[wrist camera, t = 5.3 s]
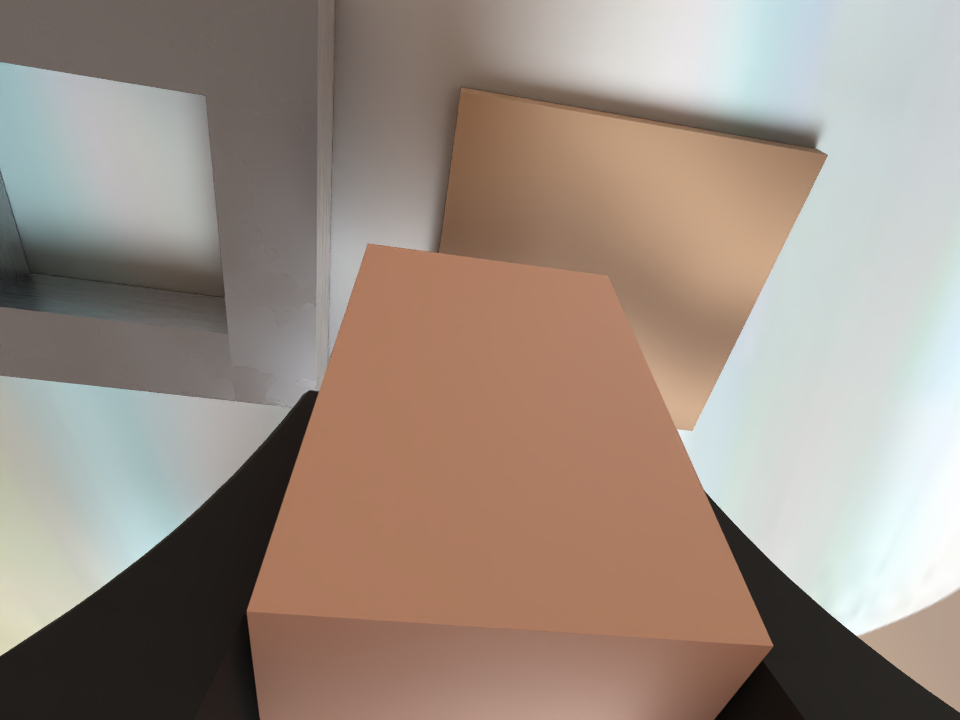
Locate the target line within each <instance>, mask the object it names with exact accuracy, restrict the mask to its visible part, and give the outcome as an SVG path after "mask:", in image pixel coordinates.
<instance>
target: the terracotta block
mask: <svg viewBox="0 0 960 720" xmlns="http://www.w3.org/2000/svg"><path fill="white" fill-rule="evenodd" d="M247 619H248V628H249V636H250V644H251V652H252V660H253V668H254V676H255V684H256V692H257V701H258V709H259V717H260V720H714V719H715V718H716V717H717V715H718V714H719V713H720V712H721V710H722V709H723V708H724V707H725V705H726V704H727V703H728V702H729V701H730V699H731V698H732V697H733V696H734V694H735V693H736V692H737V691H738V689H739V688H740V687H741V686H742V685H743V683H744V682H745V681H746V680H747V678H748V677H749V676H750V675H751V673H752V672H753V671H754V670H755V668H756V667H757V666H758V665H759V664H760V662H761V661H762V660H763V659H764V657H765V656H766V655H767V654H768V652H769V651H770V650H771V649H772V647H773V644H772V642H771V639H770V637H769V635H768V633H767V630H766V628H765V626H764V624H763V621H762V619H761V617H760V615H759V612H758V610H757V608H756V606H755V604H754V601H753V599H752V597H751V595H750V592H749V590H748V588H747V586H746V583H745V581H744V579H743V577H742V574H741V572H740V570H739V568H738V566H737V563H736V561H735V559H734V557H733V554H732V552H731V550H730V548H729V545H728V543H727V541H726V539H725V536H724V534H723V532H722V530H721V527H720V525H719V523H718V521H717V519H716V516H715V514H714V512H713V510H712V507H711V505H710V503H709V501H708V498H707V496H706V494H705V492H704V489H703V487H702V485H701V483H700V480H699V478H698V476H697V474H696V472H695V469H694V467H693V465H692V463H691V460H690V458H689V456H688V454H687V451H686V449H685V447H684V445H683V442H682V440H681V438H680V436H679V434H678V431H677V429H676V427H675V425H674V422H673V420H672V418H671V416H670V413H669V411H668V409H667V407H666V404H665V402H664V400H663V398H662V395H661V393H660V391H659V389H658V387H657V384H656V382H655V380H654V378H653V375H652V373H651V371H650V369H649V366H648V364H647V362H646V360H645V357H644V355H643V353H642V351H641V348H640V346H639V344H638V342H637V340H636V337H635V335H634V333H633V331H632V328H631V326H630V324H629V322H628V319H627V317H626V315H625V313H624V310H623V308H622V306H621V304H620V302H619V299H618V297H617V295H616V293H615V290H614V288H613V286H612V284H611V281H610V279H609V277H608V276H607V275H599V274H592V273H584V272H577V271H569V270H562V269H555V268H547V267H540V266H532V265H525V264H517V263H510V262H502V261H495V260H487V259H480V258H472V257H465V256H457V255H450V254H442V253H435V252H427V251H420V250H412V249H405V248H397V247H390V246H382V245H375V244H368V245H367V248H366V251H365V254H364V257H363V260H362V263H361V266H360V269H359V272H358V275H357V278H356V281H355V284H354V287H353V290H352V293H351V296H350V299H349V303H348V306H347V309H346V312H345V315H344V318H343V321H342V324H341V327H340V330H339V333H338V336H337V339H336V342H335V345H334V348H333V351H332V354H331V357H330V360H329V363H328V366H327V369H326V372H325V375H324V378H323V381H322V384H321V387H320V390H319V393H318V396H317V399H316V403H315V406H314V409H313V412H312V415H311V418H310V421H309V424H308V427H307V430H306V433H305V436H304V439H303V442H302V445H301V448H300V451H299V454H298V457H297V460H296V463H295V466H294V469H293V472H292V475H291V478H290V481H289V484H288V487H287V490H286V493H285V496H284V499H283V503H282V506H281V509H280V512H279V515H278V518H277V521H276V524H275V527H274V530H273V533H272V536H271V539H270V542H269V545H268V548H267V551H266V554H265V557H264V560H263V563H262V566H261V569H260V572H259V575H258V578H257V581H256V584H255V587H254V590H253V593H252V596H251V599H250V603H249V606H248V609H247Z"/></svg>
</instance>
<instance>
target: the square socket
mask: <svg viewBox="0 0 960 720" xmlns="http://www.w3.org/2000/svg"><path fill="white" fill-rule="evenodd" d="M334 38H335V0H0V62H4V63H10V64H16V65H23V66H29V67H35V68H41V69H47V70H53V71H59V72H65V73H71V74H77V75H83V76H89V77H96V78H102V79H108V80H114V81H120V82H126V83H132V84H138V85H144V86H150V87H156V88H163V89H169V90H175V91H181V92H187V93H193V94H199V95H205V96H206V103H207V114H208V125H209V135H210V146H211V156H212V167H213V177H214V188H215V198H216V209H217V219H218V230H219V240H220V251H221V261H222V272H223V282H224V293H225V298H224V297H216V296H208V295H200V294H192V293H185V292H177V291H169V290H161V289H153V288H146V287H138V286H130V285H122V284H114V283H106V282H99V281H91V280H83V279H75V278H67V277H60V276H52V275H44V274H36V273H30V270H29V267H28V264H27V260H26V257H25V254H24V250H23V247H22V244H21V240H20V237H19V234H18V230H17V227H16V224H15V220H14V217H13V214H12V210H11V207H10V204H9V201H8V197H7V194H6V191H5V187H4V184H3V181H2V177H1V174H0V375H1V376H10V377H19V378H28V379H38V380H47V381H56V382H65V383H74V384H83V385H93V386H102V387H111V388H120V389H129V390H138V391H148V392H157V393H166V394H175V395H184V396H193V397H202V398H212V399H221V400H230V401H239V402H248V403H257V404H267V405H276V406H285V407H294V406H295V404H296V403H297V402H298V400H299V399H300V398H301V396H302V395H303V394H304V393H306V392H307V391H309V390H313V391H319V390H320V387H321V384H322V381H323V378H324V375H325V372H326V369H327V366H328V339H329V289H330V239H331V188H332V138H333V88H334Z"/></svg>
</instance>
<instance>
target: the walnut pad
mask: <svg viewBox="0 0 960 720" xmlns="http://www.w3.org/2000/svg"><path fill="white" fill-rule="evenodd" d="M827 156H828V155H827V154H825V153H823V152H821V151H820V150H818V149H814V148H808V147H803V146H797V145H791V144H785V143H780V142H774V141H768V140H762V139H757V138H751V137H745V136H739V135H734V134H728V133H722V132H716V131H711V130H705V129H699V128H693V127H687V126H682V125H676V124H670V123H664V122H659V121H653V120H647V119H641V118H636V117H630V116H624V115H618V114H613V113H607V112H601V111H595V110H590V109H584V108H578V107H572V106H567V105H561V104H555V103H549V102H544V101H538V100H532V99H526V98H521V97H515V96H509V95H503V94H498V93H492V92H486V91H480V90H475V89H469V88H463V87H461V91H460V99H459V106H458V114H457V121H456V129H455V136H454V144H453V151H452V159H451V166H450V173H449V181H448V188H447V196H446V203H445V211H444V218H443V226H442V233H441V241H440V248H439V253H442V254H450V255H457V256H465V257H472V258H480V259H487V260H495V261H502V262H510V263H517V264H525V265H532V266H540V267H547V268H555V269H562V270H569V271H577V272H584V273H592V274H599V275H607V276H608V277H609V279H610V281H611V284H612V286H613V288H614V290H615V293H616V295H617V297H618V299H619V302H620V304H621V306H622V308H623V310H624V313H625V315H626V317H627V319H628V322H629V324H630V326H631V328H632V331H633V333H634V335H635V337H636V340H637V342H638V344H639V346H640V348H641V351H642V353H643V355H644V357H645V360H646V362H647V364H648V366H649V369H650V371H651V373H652V375H653V378H654V380H655V382H656V384H657V387H658V389H659V391H660V393H661V395H662V398H663V400H664V402H665V404H666V407H667V409H668V411H669V413H670V416H671V418H672V420H673V422H674V425H675V427H676V429H681V430H690V431H692V430H693V428H694V426H695V424H696V422H697V420H698V418H699V416H700V414H701V412H702V410H703V408H704V406H705V404H706V402H707V400H708V398H709V396H710V394H711V392H712V390H713V388H714V386H715V384H716V382H717V380H718V378H719V376H720V374H721V371H722V369H723V367H724V365H725V363H726V361H727V359H728V357H729V355H730V353H731V351H732V349H733V347H734V345H735V343H736V341H737V339H738V337H739V335H740V333H741V331H742V329H743V327H744V325H745V323H746V321H747V319H748V317H749V315H750V313H751V311H752V308H753V306H754V304H755V302H756V300H757V298H758V296H759V294H760V292H761V290H762V288H763V286H764V284H765V282H766V280H767V278H768V276H769V274H770V272H771V270H772V268H773V266H774V264H775V262H776V260H777V258H778V256H779V254H780V252H781V250H782V248H783V245H784V243H785V241H786V239H787V237H788V235H789V233H790V231H791V229H792V227H793V225H794V223H795V221H796V219H797V217H798V215H799V213H800V211H801V209H802V207H803V205H804V203H805V201H806V199H807V197H808V195H809V193H810V191H811V189H812V187H813V184H814V182H815V180H816V178H817V176H818V174H819V172H820V170H821V168H822V166H823V164H824V162H825V160H826V158H827Z"/></svg>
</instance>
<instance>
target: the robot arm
mask: <svg viewBox="0 0 960 720" xmlns="http://www.w3.org/2000/svg"><path fill="white" fill-rule="evenodd" d="M318 393H319V391H313V390H309V391H307V392H306V393H304V394H303V395H302V396H301V398H300V399H299V400H298V402H297V403H296V404H295V406H294V407H293V408H292V409H291V411H290V412H289V413H288V414H287V416H286V417H285V418H284V419H283V421H282V422H281V423H280V424H279V425H278V427H277V428H276V429H275V430H274V431H273V432H272V433H271V435H270V436H269V437H268V438H267V439H266V440H265V442H264V443H263V444H262V445H261V446H260V447H259V448H258V449H257V450H256V451H255V452H254V453H253V455H252V456H251V457H250V458H249V459H248V460H247V461H246V462H245V463H244V464H243V465H242V466H241V467H240V469H239V470H238V471H237V472H236V473H235V474H234V475H233V476H232V477H231V478H230V479H229V480H228V481H227V482H226V483H224V484H223V485H222V486H221V487H220V488H219V489H218V490H217V491H216V492H215V493H214V494H213V495H212V496H211V497H210V498H209V499H208V500H207V501H206V502H205V503H204V504H203V505H202V506H201V507H200V508H199V509H197V510H196V511H195V512H194V513H193V514H192V515H191V516H190V517H189V518H187V519H186V520H185V521H184V522H183V523H182V524H181V525H180V526H178V527H177V528H176V529H175V530H174V531H173V532H171V533H170V534H169V535H168V536H167V537H165V538H164V539H163V540H162V541H161V542H159V543H158V544H157V545H156V546H155V547H153V548H152V549H151V550H150V551H149V552H147V553H146V554H145V555H144V556H142V557H141V558H140V559H138V560H137V561H136V562H135V563H133V564H132V565H131V566H129V567H128V568H127V569H125V570H124V571H123V572H121V573H120V574H119V575H117V576H116V577H115V578H114V579H112V580H111V581H110V582H108V583H107V584H106V585H104V586H103V587H102V588H100V589H99V590H98V591H96V592H95V593H93V594H92V595H91V596H89V597H88V598H87V599H85V600H84V601H82V602H81V603H80V604H78V605H77V606H75V607H74V608H72V609H71V610H70V611H68V612H67V613H65V614H64V615H62V616H61V617H59V618H57V619H56V620H54V621H53V622H51V623H50V624H48V625H47V626H45V627H44V628H42V629H41V630H39V631H38V632H36V633H35V634H33V635H32V636H30V637H29V638H27V639H26V640H24V641H23V642H21V643H20V644H18V645H17V646H15V647H14V648H12V649H10V650H9V651H7V652H6V653H4V654H3V655H1V656H0V720H260V717H259V709H258V701H257V692H256V684H255V676H254V668H253V660H252V652H251V644H250V636H249V628H248V619H247V609H248V606H249V603H250V599H251V596H252V593H253V590H254V587H255V584H256V581H257V578H258V575H259V572H260V569H261V566H262V563H263V560H264V557H265V554H266V551H267V548H268V545H269V542H270V539H271V536H272V533H273V530H274V527H275V524H276V521H277V518H278V515H279V512H280V509H281V506H282V503H283V499H284V496H285V493H286V490H287V487H288V484H289V481H290V478H291V475H292V472H293V469H294V466H295V463H296V460H297V457H298V454H299V451H300V448H301V445H302V442H303V439H304V436H305V433H306V430H307V427H308V424H309V421H310V418H311V415H312V412H313V409H314V406H315V403H316V399H317V396H318ZM704 492H705V491H704ZM705 494H706V496H707V498H708V501H709V503H710V505H711V507H712V510H713V512H714V514H715V516H716V519H717V521H718V523H719V525H720V527H721V530H722V532H723V534H724V536H725V539H726V541H727V543H728V545H729V548H730V550H731V552H732V554H733V557H734V559H735V561H736V563H737V566H738V568H739V570H740V572H741V574H742V577H743V579H744V581H745V583H746V586H747V588H748V590H749V592H750V595H751V597H752V599H753V601H754V604H755V606H756V608H757V610H758V612H759V615H760V617H761V619H762V621H763V624H764V626H765V628H766V630H767V633H768V635H769V637H770V639H771V642H772V644H773V647H772V649H771V650H770V651H769V652H768V654H767V655H766V656H765V657H764V659H763V660H762V661H761V662H760V664H759V665H758V666H757V667H756V668H755V670H754V671H753V672H752V673H751V675H750V676H749V677H748V678H747V680H746V681H745V682H744V683H743V685H742V686H741V687H740V688H739V689H738V691H737V692H736V693H735V694H734V696H733V697H732V698H731V699H730V701H729V702H728V703H727V704H726V705H725V707H724V708H723V709H722V710H721V712H720V713H719V714H718V715H717V717H716V718H715V719H714V720H960V713H959V712H958V711H956V710H955V709H954V708H952V707H951V706H949V705H948V704H946V703H945V702H944V701H942V700H941V699H939V698H938V697H936V696H935V695H933V694H932V693H931V692H929V691H928V690H926V689H925V688H924V687H922V686H921V685H920V684H918V683H917V682H915V681H914V680H913V679H911V678H910V677H909V676H907V675H906V674H905V673H903V672H902V671H901V670H899V669H898V668H896V667H895V666H894V665H893V664H891V663H890V662H889V661H887V660H886V659H885V658H884V657H882V656H881V655H880V654H879V653H877V652H876V651H875V650H873V649H872V648H871V647H870V646H868V645H867V644H866V643H865V642H863V641H862V640H861V639H859V638H858V637H857V636H856V635H854V634H853V633H852V632H851V631H849V630H848V629H847V628H846V627H844V626H843V625H842V624H841V623H840V622H838V621H837V620H836V619H835V618H834V617H832V616H831V615H830V614H829V613H828V612H827V611H825V610H824V609H823V608H822V607H821V606H820V605H819V604H817V603H816V602H815V601H814V600H813V599H812V598H811V597H810V596H808V595H807V594H806V593H805V592H804V591H803V590H802V589H801V588H799V587H798V586H797V585H796V584H795V583H794V582H793V581H792V580H790V579H789V578H788V577H787V576H786V575H785V574H784V573H783V572H782V571H781V570H780V569H779V568H778V567H777V566H776V565H775V564H774V563H772V562H771V561H770V560H769V559H768V558H767V557H766V556H765V555H764V554H763V552H762V551H761V550H760V549H759V548H758V547H757V546H756V545H755V544H754V543H753V542H752V541H751V540H750V539H749V538H748V537H747V536H746V535H745V534H744V533H743V532H742V531H741V530H740V529H739V528H738V527H737V526H736V525H735V524H734V523H733V522H732V521H731V520H730V519H729V518H728V516H727V515H726V514H725V513H724V512H723V511H722V510H721V509H720V508H719V507H718V505H717V504H716V503H715V502H714V501H713V500H712V499H711V498H710V497H709V495H708V494H707V493H706V492H705Z"/></svg>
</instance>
